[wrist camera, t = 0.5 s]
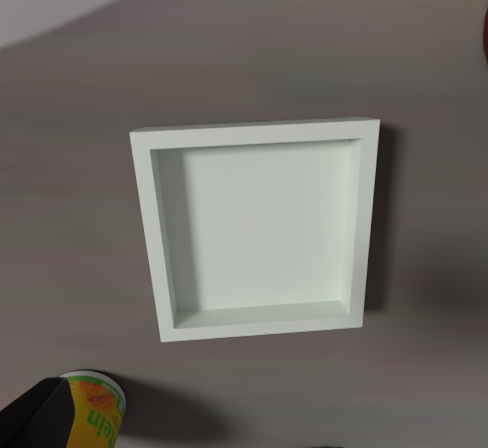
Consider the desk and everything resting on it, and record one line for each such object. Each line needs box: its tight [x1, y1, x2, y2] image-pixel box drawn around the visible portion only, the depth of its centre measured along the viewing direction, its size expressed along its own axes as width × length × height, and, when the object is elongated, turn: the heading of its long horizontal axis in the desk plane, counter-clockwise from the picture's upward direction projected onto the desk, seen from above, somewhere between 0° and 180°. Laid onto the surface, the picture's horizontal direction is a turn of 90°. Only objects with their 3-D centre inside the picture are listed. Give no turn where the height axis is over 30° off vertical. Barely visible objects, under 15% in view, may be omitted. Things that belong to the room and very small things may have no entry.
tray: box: [129, 117, 380, 342], centre depth 20 cm, size 12×12×2 cm
